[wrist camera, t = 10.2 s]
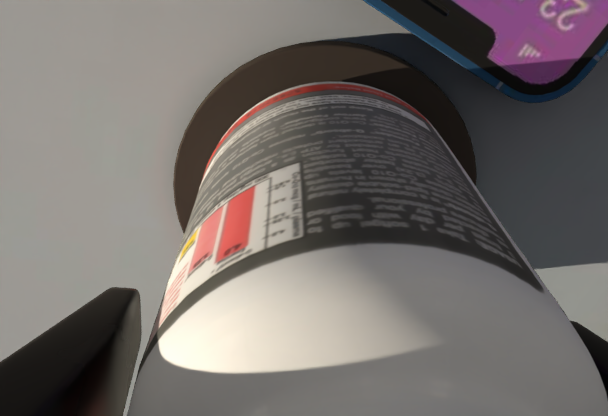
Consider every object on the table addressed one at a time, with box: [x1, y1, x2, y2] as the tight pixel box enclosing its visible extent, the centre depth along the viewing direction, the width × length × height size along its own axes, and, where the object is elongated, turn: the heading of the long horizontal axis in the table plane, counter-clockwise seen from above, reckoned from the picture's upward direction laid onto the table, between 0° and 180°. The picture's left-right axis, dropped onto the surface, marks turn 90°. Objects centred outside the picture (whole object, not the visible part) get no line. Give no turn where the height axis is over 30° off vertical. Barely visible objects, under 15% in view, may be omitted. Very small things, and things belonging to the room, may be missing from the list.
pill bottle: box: [127, 81, 608, 416], centre depth 8 cm, size 6×6×10 cm
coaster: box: [173, 41, 476, 233], centre depth 13 cm, size 7×7×1 cm
